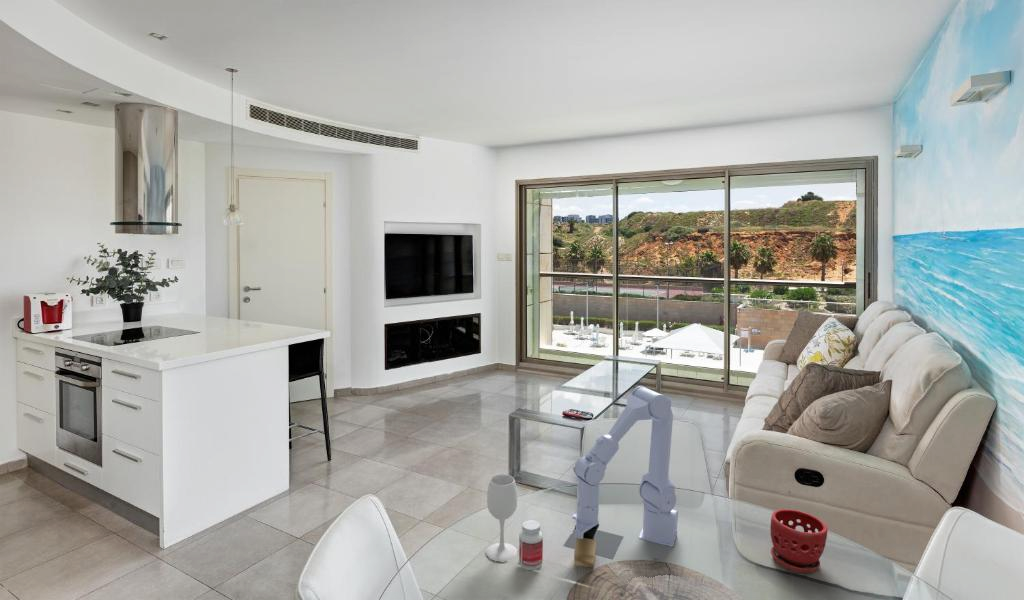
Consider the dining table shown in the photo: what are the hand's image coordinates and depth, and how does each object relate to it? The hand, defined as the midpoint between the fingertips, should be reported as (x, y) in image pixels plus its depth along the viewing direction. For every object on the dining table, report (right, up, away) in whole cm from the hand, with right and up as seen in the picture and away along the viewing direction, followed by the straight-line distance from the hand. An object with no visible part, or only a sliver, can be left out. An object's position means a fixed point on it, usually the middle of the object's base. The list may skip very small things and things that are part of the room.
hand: (586, 549), depth 146 cm
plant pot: (+55, -3, -2) cm, 56 cm away
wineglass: (-23, -2, +1) cm, 23 cm away
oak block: (-1, -1, -3) cm, 3 cm away
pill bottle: (-15, -2, -4) cm, 16 cm away
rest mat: (+3, -1, +6) cm, 7 cm away
